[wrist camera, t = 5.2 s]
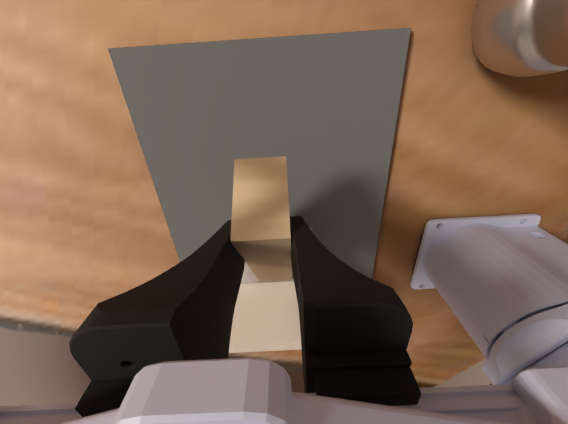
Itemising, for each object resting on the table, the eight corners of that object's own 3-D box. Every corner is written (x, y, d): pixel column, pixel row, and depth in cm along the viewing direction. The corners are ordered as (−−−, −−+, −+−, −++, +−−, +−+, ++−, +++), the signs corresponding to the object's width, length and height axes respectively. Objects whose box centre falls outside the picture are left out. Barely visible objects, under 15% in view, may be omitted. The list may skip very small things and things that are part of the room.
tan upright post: (325, 154, 12) (336, 235, 10) (311, 230, 21) (316, 280, 19) (195, 161, 12) (185, 243, 10) (239, 234, 21) (237, 283, 19)
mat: (408, 28, 15) (411, 27, 15) (365, 310, 27) (366, 313, 27) (111, 49, 15) (107, 48, 15) (201, 319, 27) (200, 322, 27)
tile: (316, 242, 22) (331, 340, 16) (315, 253, 23) (329, 348, 17) (236, 246, 22) (222, 345, 16) (239, 257, 23) (228, 353, 17)
